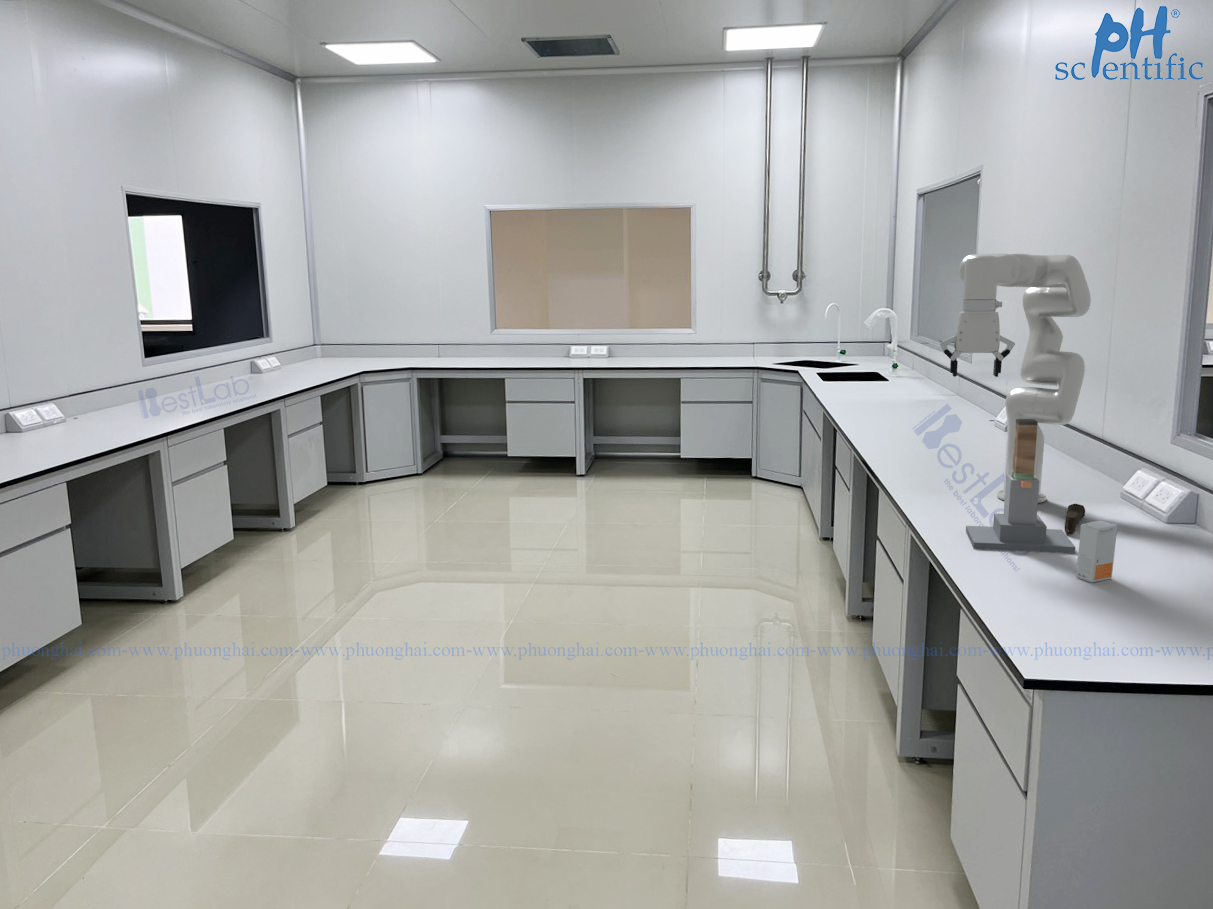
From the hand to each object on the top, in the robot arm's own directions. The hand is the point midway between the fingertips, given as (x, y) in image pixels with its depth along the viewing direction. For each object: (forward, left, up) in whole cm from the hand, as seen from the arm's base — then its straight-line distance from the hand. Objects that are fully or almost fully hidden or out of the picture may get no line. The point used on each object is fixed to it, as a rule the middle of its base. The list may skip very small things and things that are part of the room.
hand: (975, 376), depth 230 cm
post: (+14, +10, -25) cm, 31 cm away
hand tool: (-2, +26, -39) cm, 47 cm away
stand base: (+14, +10, -38) cm, 42 cm away
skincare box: (+38, +21, -38) cm, 58 cm away
